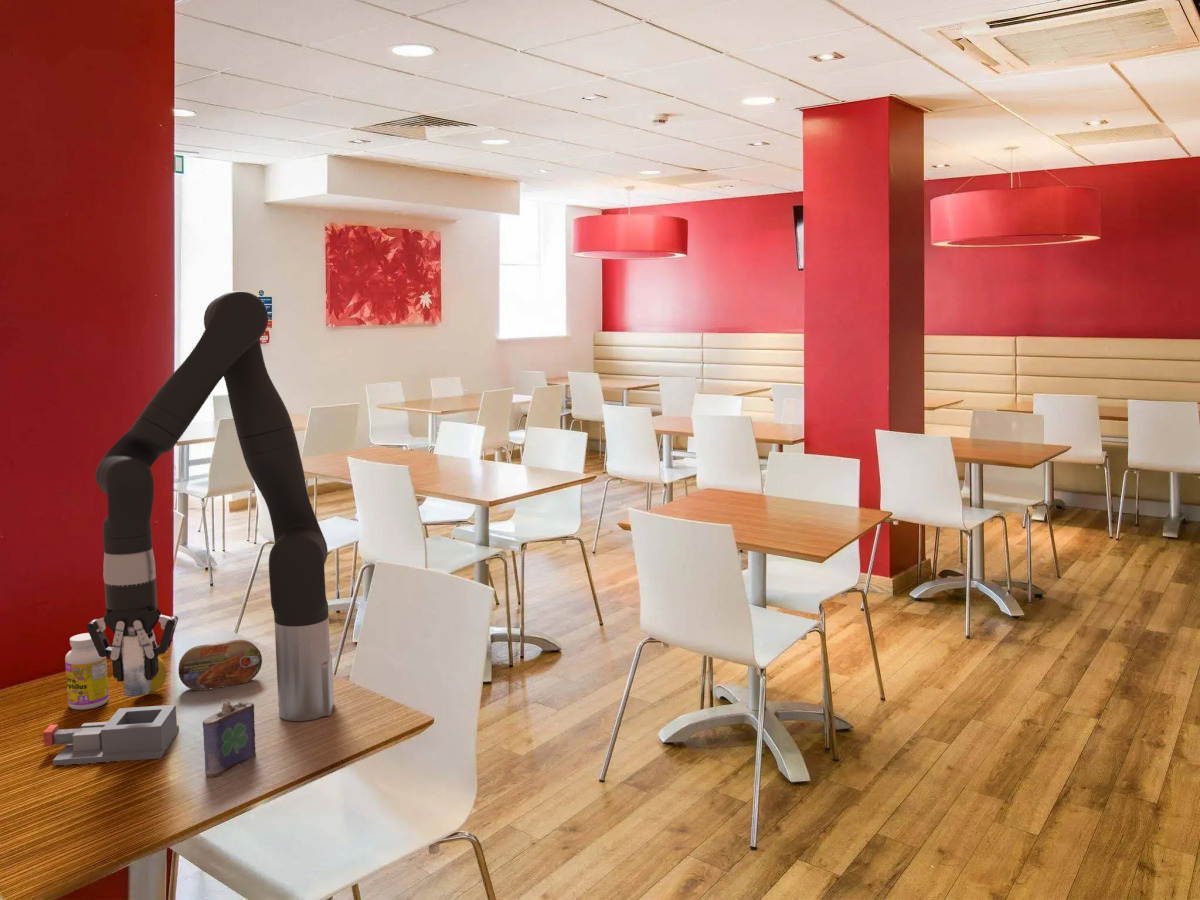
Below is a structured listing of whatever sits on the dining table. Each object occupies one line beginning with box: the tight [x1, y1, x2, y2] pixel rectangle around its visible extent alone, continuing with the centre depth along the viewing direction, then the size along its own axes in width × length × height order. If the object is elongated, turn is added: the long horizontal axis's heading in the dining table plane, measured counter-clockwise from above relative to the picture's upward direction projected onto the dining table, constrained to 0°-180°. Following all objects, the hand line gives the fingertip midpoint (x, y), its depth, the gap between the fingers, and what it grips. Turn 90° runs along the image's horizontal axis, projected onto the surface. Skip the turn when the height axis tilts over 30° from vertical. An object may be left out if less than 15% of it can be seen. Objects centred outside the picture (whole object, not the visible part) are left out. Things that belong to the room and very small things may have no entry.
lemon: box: [148, 656, 167, 695], centre depth 182 cm, size 6×6×8 cm
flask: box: [202, 698, 257, 779], centre depth 152 cm, size 9×3×11 cm, turn 151°
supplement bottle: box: [64, 632, 110, 711], centre depth 177 cm, size 7×7×13 cm
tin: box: [177, 639, 263, 692], centre depth 186 cm, size 15×3×8 cm, turn 117°
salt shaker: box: [121, 626, 151, 698], centre depth 158 cm, size 4×4×12 cm
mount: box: [52, 704, 180, 767], centre depth 159 cm, size 16×11×5 cm
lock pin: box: [42, 724, 103, 747], centre depth 157 cm, size 9×3×2 cm, turn 99°
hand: (136, 678), depth 158 cm, fingers closed on salt shaker, 4 cm apart
